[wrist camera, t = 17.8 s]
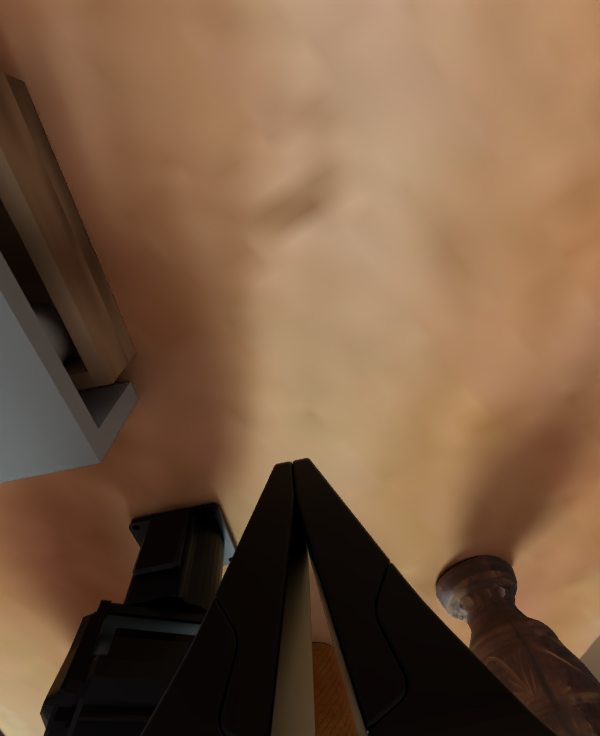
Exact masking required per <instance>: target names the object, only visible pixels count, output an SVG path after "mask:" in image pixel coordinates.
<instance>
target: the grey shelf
mask: <svg viewBox="0 0 600 736" xmlns="http://www.w3.org/2000/svg"><path fill="white" fill-rule="evenodd" d="M137 400H138V397H137V394H136V392H135V390H134V388H133V386H132V384H131V382H126V383H121V384H116V385H111V386H106V387H100V388H95V389H90V390H85V391H80V392H78V391H77V389H76V388H75V386H74V384H73V382H72V380H71V379H70V377H69V375H68V373H67V371H66V369H65V368H64V366H63V364H62V362H61V360H60V359H59V357H58V355H57V353H56V351H55V349H54V348H53V346H52V344H51V342H50V340H49V339H48V337H47V335H46V333H45V331H44V330H43V328H42V326H41V324H40V322H39V320H38V319H37V317H36V315H35V313H34V311H33V310H32V308H31V306H30V304H29V302H28V301H27V299H26V297H25V295H24V293H23V291H22V290H21V288H20V286H19V284H18V282H17V281H16V279H15V277H14V275H13V273H12V272H11V270H10V268H9V266H8V264H7V262H6V261H5V259H4V257H3V255H2V253H1V252H0V483H3V482H8V481H13V480H18V479H23V478H28V477H33V476H38V475H44V474H49V473H54V472H59V471H64V470H69V469H74V468H79V467H84V466H89V465H94V464H99V463H101V462H102V460H103V458H104V457H105V455H106V453H107V452H108V450H109V448H110V447H111V445H112V443H113V441H114V440H115V438H116V436H117V435H118V433H119V431H120V429H121V428H122V426H123V424H124V423H125V421H126V419H127V418H128V416H129V414H130V412H131V411H132V409H133V407H134V406H135V404H136V402H137Z"/></svg>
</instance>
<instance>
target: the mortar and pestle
mask: <svg viewBox="0 0 600 736" xmlns="http://www.w3.org/2000/svg"><path fill="white" fill-rule="evenodd" d="M516 591H517V580H516V577H515V574H514V571H513V569H512V567H511V566H510V565H509V564H507V563H506V562H504V561H503V560H501V559H499V558H496V557H489V556H480V557H476V558H474V559H470V560H466V561H464V562H462V563H460V564H458V565H456V566H455V567H453V568H452V569H450V570H449V571H448V572H446V573H445V574H444V575H443V576H442V577H441V578H440V580H439V581H438V584H437V587H436V595H437V598H438V599H439V601H440V602H441V604H442V605H443V607H444V608H445V609H446V611H447V612H448V613H449V614H450V615H452V616H453V617H455V618H457V619H461V620H464V621H465V622H466V623H467V624H468V625H469V627H470V629H471V632H472V633H471V640H470V646H469V649H470V650H471V651H472V652H473V653H474V654H475V655H476V656H477V657H478V658H479V659H480V660H481V661H482V662H483V663H484V664H485V665H486V666H487V667H488V668H489V669H490V670H491V671H492V672H493V673H494V674H495V675H496V676H497V677H498V678H499V679H500V680H501V681H502V682H503V683H504V684H505V685H506V686H507V687H508V688H509V689H510V691H511V692H512V693H513V694H514V695H515V696H516V697H517V698H518V699H519V700H520V701H521V702H523V703H524V704H525V705H526V706H527V707H528V708H529V709H530V710H531V711H532V712H533V713H534V714H535V715H536V716H537V717H538V718H539V719H540V720H542V721H543V722H544V723H545V724H546V725H547V726H548V727H549V728H551V729H552V730H553V731H554V732H555V733H556V734H558V735H559V736H600V683H599V682H598V680H597V679H596V678H595V677H594V676H593V674H592V673H591V672H590V671H589V670H588V668H587V667H586V666H585V665H584V664H583V663H582V662H581V661H580V660H579V659H578V658H577V657H576V656H575V655H574V654H573V653H572V652H571V651H570V650H568V649H567V648H566V647H565V646H564V645H563V644H562V643H561V641H560V640H559V639H558V637H557V636H556V634H555V633H554V632H553V631H552V630H551V629H550V628H549V627H548V626H547V625H545V624H544V623H542V622H540V621H538V620H535V619H532V618H529V617H527V616H525V615H524V614H523V613H522V612H521V611H519V610H518V609H517V607H516V606H515V595H516Z"/></svg>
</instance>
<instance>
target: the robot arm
mask: <svg viewBox="0 0 600 736" xmlns="http://www.w3.org/2000/svg"><path fill="white" fill-rule="evenodd" d="M129 529H130V531H131V533H132V534H133V536H134V538H135V539H136V541H137V543H138V544H139V546H140V551H139V554H138V557H137V560H136V563H135V566H134V569H133V576H132V579H131V582H130V585H129V588H128V591H127V594H126V597H125V600H124V604H118V603H111V601H108V600H101V603H100V605H99V608H98V610H97V612H94V613H93V614H90V615H88V616H85V617H83V619H82V622H81V624H80V627H79V629H78V632H77V634H76V636H75V639H74V641H73V643H72V646H71V648H70V650H69V652H68V655H67V657H66V659H65V661H64V663H63V665H62V667H61V669H60V671H59V673H58V675H57V677H56V679H55V681H54V682H53V684H52V686H51V688H50V690H49V692H48V694H47V696H46V699H45V701H44V703H43V706H42V709H41V712H40V715H41V717H42V720H43V723H44V725H45V728H46V730H45V733H44V736H315V715H314V688H313V662H312V635H311V608H310V581H309V559H308V552H309V556H310V561H311V565H312V568H313V572H314V576H315V579H316V583H317V586H318V590H319V594H320V597H321V601H322V604H323V608H324V612H325V615H326V619H327V622H328V626H329V630H330V633H331V637H332V641H333V644H334V648H335V651H336V655H337V659H338V662H339V666H340V669H341V673H342V677H343V680H344V684H345V687H346V691H347V695H348V698H349V702H350V706H351V709H352V713H353V716H354V720H355V724H356V727H357V731H358V734H359V736H559V735H558V734H556V733H555V732H554V731H553V730H552V729H551V728H549V727H548V726H547V725H546V724H545V723H544V722H543V721H542V720H540V719H539V718H538V717H537V716H536V715H535V714H534V713H533V712H532V711H531V710H530V709H529V708H528V707H527V706H526V705H525V704H524V703H523V702H521V701H520V700H519V699H518V698H517V697H516V696H515V695H514V694H513V693H512V692H511V691H510V689H509V688H508V687H507V686H506V685H505V684H504V683H503V682H502V681H501V680H500V679H499V678H498V677H497V676H496V675H495V674H494V673H493V672H492V671H491V670H490V669H489V668H488V667H487V666H486V665H485V664H484V663H483V662H482V661H481V660H480V659H479V658H478V657H477V656H476V655H475V654H474V653H473V652H472V651H471V650H470V649H469V648H468V647H467V646H466V645H465V644H464V643H463V642H462V641H461V640H460V639H459V638H458V637H457V636H456V635H455V634H454V633H453V632H452V631H451V630H450V629H449V628H448V627H447V626H446V625H445V623H444V622H443V621H442V620H441V619H440V618H439V617H438V616H437V615H436V614H435V613H434V612H433V611H432V610H431V609H430V607H429V606H428V605H427V604H426V603H425V602H424V601H423V600H422V599H421V597H420V596H419V595H418V594H417V593H416V591H415V590H414V589H413V588H412V587H411V585H410V584H409V583H408V582H407V581H406V580H405V578H404V577H403V576H402V575H401V573H400V572H399V571H398V570H397V568H396V567H395V566H394V564H393V563H390V560H389V558H388V557H387V556H386V555H385V553H384V552H383V551H382V550H381V548H380V547H379V546H378V545H377V543H376V542H375V541H374V540H373V538H372V537H371V536H370V535H369V533H368V532H367V531H366V529H365V528H364V527H363V526H362V524H361V523H360V522H359V521H358V519H357V518H356V517H355V516H354V514H353V513H352V512H351V511H350V509H349V508H348V507H347V505H346V504H345V503H344V502H343V500H342V499H341V498H340V497H339V495H338V494H337V493H336V492H335V490H334V489H333V488H332V487H331V485H330V484H329V483H328V482H327V480H326V479H325V478H324V476H323V475H322V474H321V473H320V471H319V470H318V469H317V468H316V466H315V465H314V464H313V463H312V461H311V460H310V459H309V458H304V459H299V460H295V461H293V464H292V462H284V463H279V464H276V465H275V466H274V468H273V470H272V472H271V475H270V477H269V479H268V481H267V483H266V485H265V488H264V490H263V492H262V494H261V496H260V498H259V501H258V503H257V505H256V507H255V509H254V511H253V514H252V516H251V518H250V520H249V522H248V524H247V527H246V529H245V531H244V533H243V535H242V537H241V540H240V542H239V544H238V546H237V548H236V546H235V544H234V541H233V539H232V536H231V534H230V531H229V529H228V526H227V524H226V521H225V519H224V516H223V514H222V511H221V508H220V506H219V505H218V504H216V503H210V504H205V505H200V506H195V507H190V508H185V509H180V510H175V511H170V512H165V513H160V514H155V515H150V516H145V517H140V518H135V519H133V520H132V521H131V523H130V525H129ZM307 548H308V549H307ZM227 564H229V566H228V568H227V570H226V572H225V574H224V576H223V579H222V570H223V565H227Z"/></svg>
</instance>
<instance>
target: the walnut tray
mask: <svg viewBox="0 0 600 736" xmlns="http://www.w3.org/2000/svg"><path fill="white" fill-rule="evenodd" d="M0 252H1V253H2V255H3V257H4V259H5V261H6V262H7V264H8V266H9V268H10V270H11V272H12V273H13V275H14V277H15V279H16V281H17V282H18V284H19V286H20V288H21V290H22V291H23V293H24V295H25V297H26V299H27V301H28V302H29V304H30V306H31V308H32V310H33V311H34V313H35V315H36V317H37V319H38V320H39V322H40V324H41V326H42V328H43V330H44V331H45V333H46V335H47V337H48V339H49V340H50V342H51V344H52V346H53V348H54V349H55V351H56V353H57V355H58V357H59V359H60V360H61V362H62V364H63V366H64V368H65V369H66V371H67V373H68V375H69V377H70V379H71V380H72V382H73V384H74V386H75V388H76V389H77V390H81V389H87V388H92V387H98V386H103V385H109V384H113V383H114V382H115V380H116V379H117V378H118V376H119V375H120V374H121V372H122V371H123V370H124V369H125V367H126V366H127V365H128V363H129V362H130V361H131V359H132V358H133V357H134V355H135V354H136V350H135V348H134V345H133V343H132V340H131V338H130V336H129V333H128V331H127V328H126V326H125V324H124V321H123V319H122V316H121V314H120V312H119V309H118V307H117V304H116V302H115V300H114V297H113V295H112V292H111V290H110V288H109V285H108V283H107V280H106V278H105V276H104V273H103V271H102V268H101V266H100V264H99V261H98V259H97V256H96V254H95V252H94V249H93V247H92V244H91V242H90V240H89V237H88V235H87V232H86V230H85V228H84V225H83V223H82V220H81V218H80V216H79V213H78V211H77V208H76V206H75V204H74V201H73V199H72V196H71V194H70V192H69V189H68V187H67V184H66V182H65V180H64V177H63V175H62V172H61V170H60V168H59V165H58V163H57V160H56V158H55V156H54V153H53V151H52V148H51V146H50V144H49V141H48V139H47V136H46V134H45V132H44V129H43V127H42V124H41V122H40V120H39V117H38V115H37V112H36V110H35V108H34V105H33V103H32V100H31V98H30V96H29V93H28V91H27V88H26V86H25V84H24V82H22V81H20V80H18V79H16V78H14V77H12V76H9V75H7V74H5V73H3V72H1V71H0Z"/></svg>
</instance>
